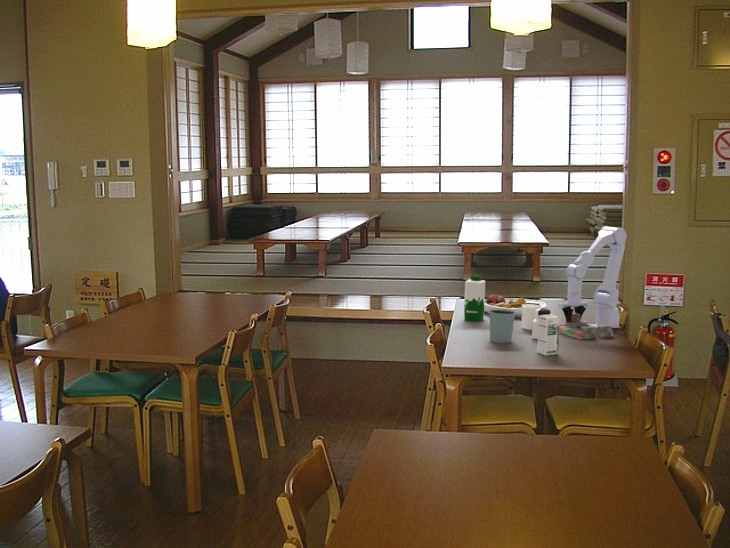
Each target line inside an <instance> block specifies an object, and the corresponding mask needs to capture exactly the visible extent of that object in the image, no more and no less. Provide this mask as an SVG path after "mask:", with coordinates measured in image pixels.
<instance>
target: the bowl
mask: <svg viewBox="0 0 730 548" xmlns="http://www.w3.org/2000/svg"><path fill="white" fill-rule="evenodd" d="M524 304H534V305H539V306H540V308H544V309H547V304H546V303H545V302H543V301H539V300H535V299H528V298H524V297H520V298H514V297H513V298H512V297H511V298H510V297H509V298H508V297H504V296H502V295H495V294H490V295H488V296H487V297H485V305H484V312H486V313H488V314H489V311H490V310H510V311H514V312H515V318H517V319H519V318H520V319H522V305H524ZM515 318H514V319H515Z"/></svg>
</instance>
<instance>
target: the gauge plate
mask: <svg viewBox="0 0 730 548" xmlns="http://www.w3.org/2000/svg"><path fill="white" fill-rule="evenodd" d="M588 324H589V321H587V320H580V321H578V322H567V324H566V323H562V324H561V323H559V327H561V326H564V327H566V326H567V328H571V329H574V330H578V331H581V330H582V327H587V326H588Z"/></svg>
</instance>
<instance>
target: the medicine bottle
mask: <svg viewBox="0 0 730 548" xmlns="http://www.w3.org/2000/svg"><path fill="white" fill-rule="evenodd" d="M550 314H551V310H550V309H548V308H546V309H544V308H539V309H536V310H535V320H534V321H533V325H532V331H531V334H532V335H531V339H532V340H533V339H534V340H538V316H539V315H550Z"/></svg>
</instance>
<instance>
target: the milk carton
mask: <svg viewBox="0 0 730 548" xmlns="http://www.w3.org/2000/svg"><path fill="white" fill-rule="evenodd" d="M485 300H486V280H483V279H482V276H481V275H476V274H475V275H473V274H472V275H471V279H466V281H464V303H463V305H464V306H463V309H464V312H463V314H464V315H463V316H464V317H463V319H464V321H466V322H468V321H469V322H477V323H478V322H481V321H483V320H484V316H485V310H484V305H485Z"/></svg>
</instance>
